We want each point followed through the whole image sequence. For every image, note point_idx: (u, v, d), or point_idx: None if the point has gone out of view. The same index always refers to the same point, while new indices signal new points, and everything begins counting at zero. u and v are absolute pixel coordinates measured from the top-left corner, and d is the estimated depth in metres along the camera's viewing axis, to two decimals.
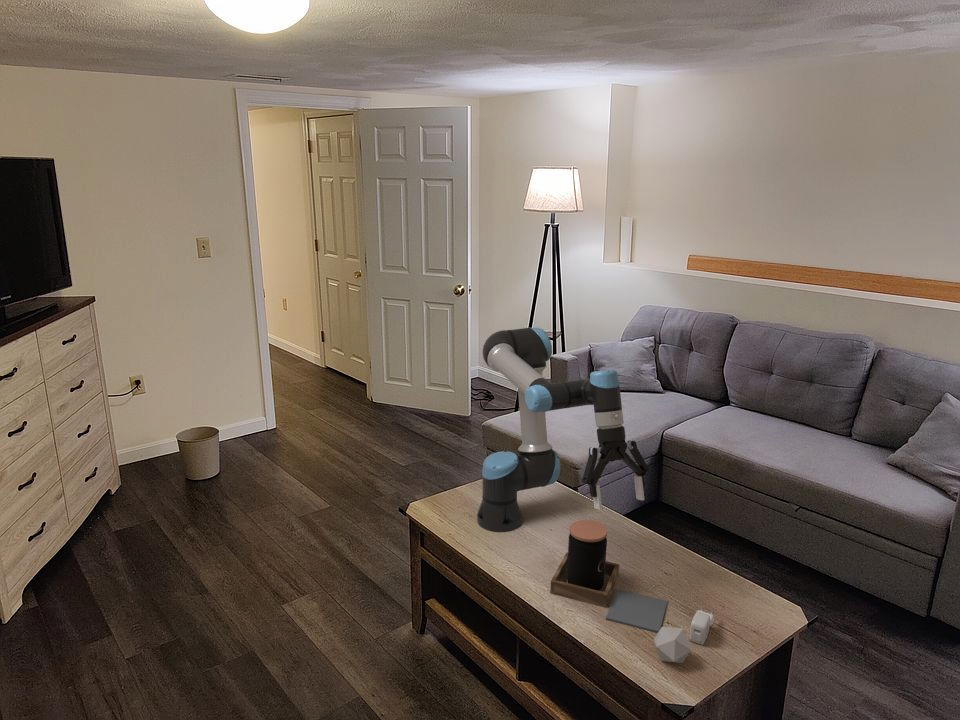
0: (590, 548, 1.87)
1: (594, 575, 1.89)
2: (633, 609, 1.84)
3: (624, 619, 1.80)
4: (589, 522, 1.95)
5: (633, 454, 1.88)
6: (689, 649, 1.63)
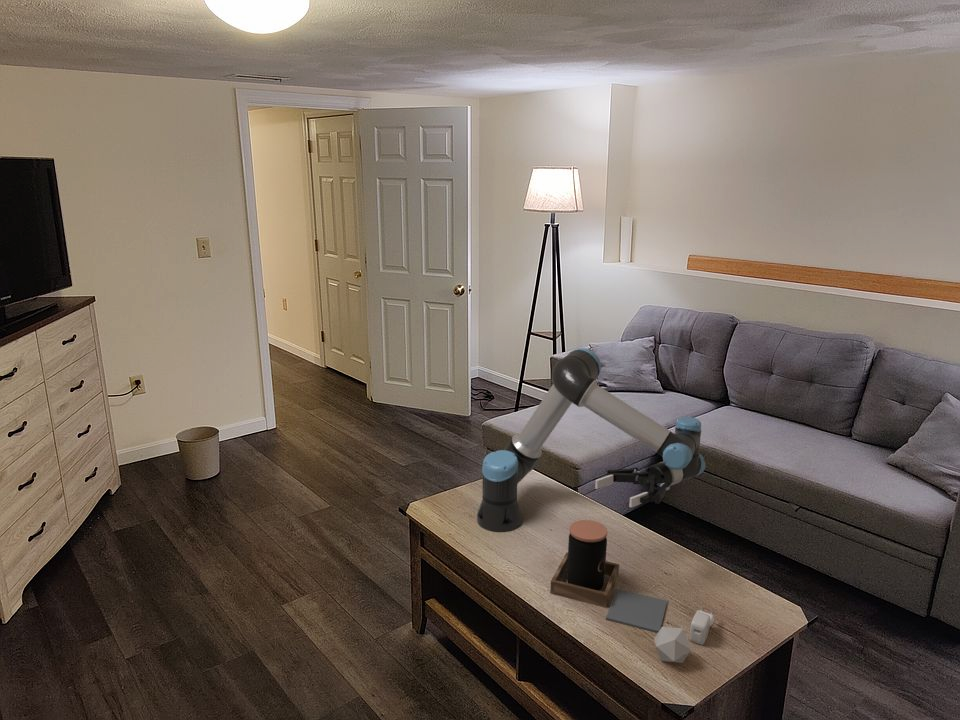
0: (590, 548, 1.87)
1: (594, 575, 1.89)
2: (633, 609, 1.84)
3: (624, 619, 1.80)
4: (589, 522, 1.95)
5: (627, 473, 2.05)
6: (689, 649, 1.63)
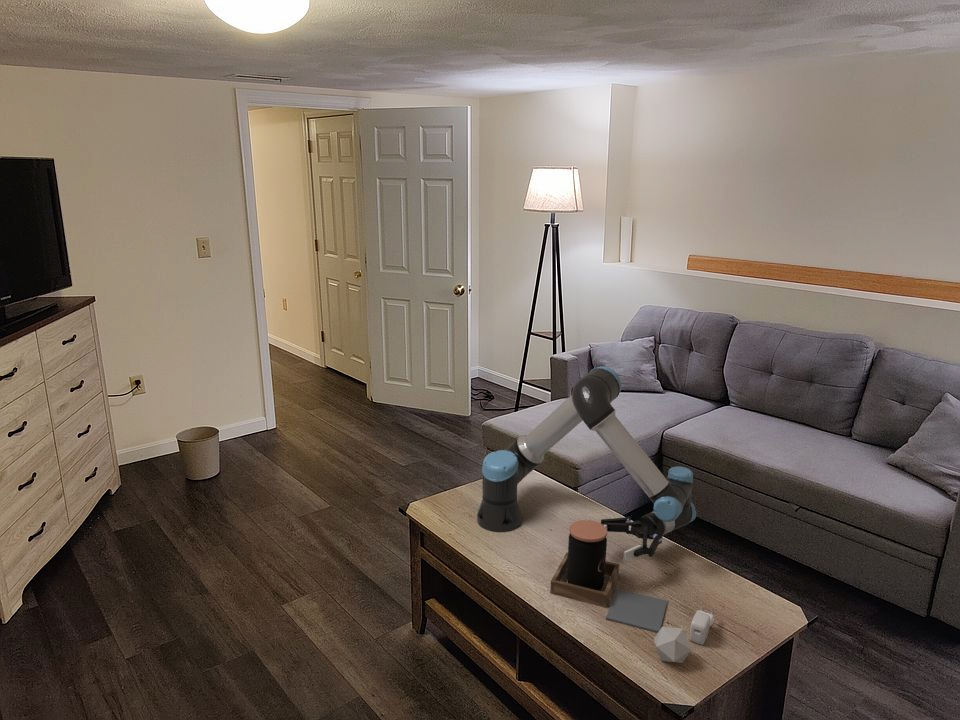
0: (590, 548, 1.87)
1: (594, 575, 1.89)
2: (633, 609, 1.84)
3: (624, 619, 1.80)
4: (589, 522, 1.95)
5: (620, 522, 2.09)
6: (689, 649, 1.63)
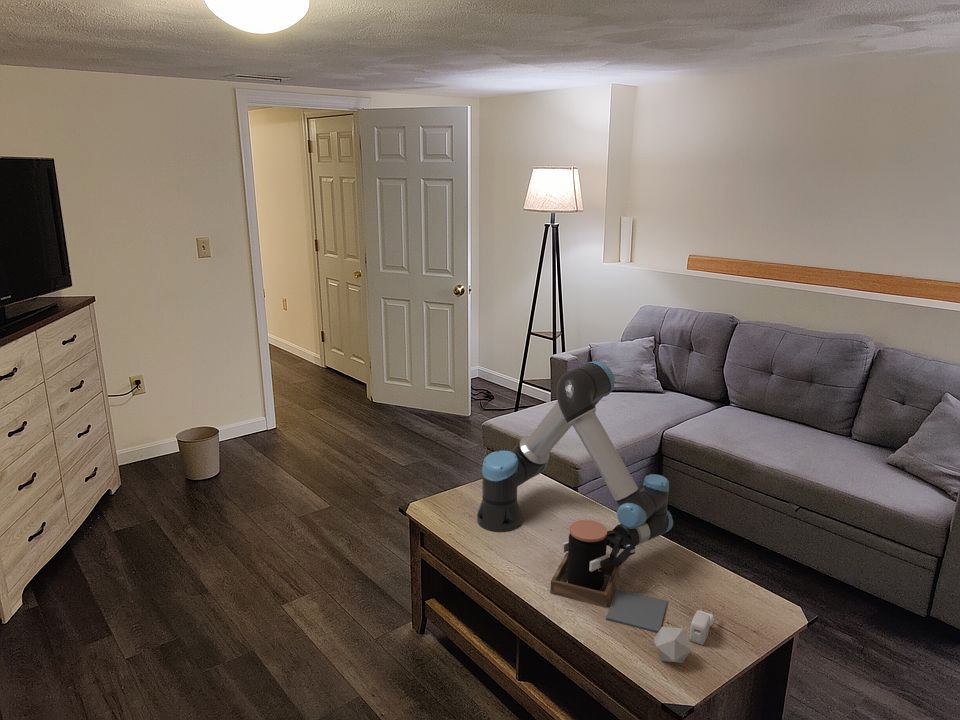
0: (590, 548, 1.87)
1: (594, 575, 1.89)
2: (633, 609, 1.84)
3: (624, 619, 1.80)
4: (589, 522, 1.95)
5: None
6: (689, 649, 1.63)
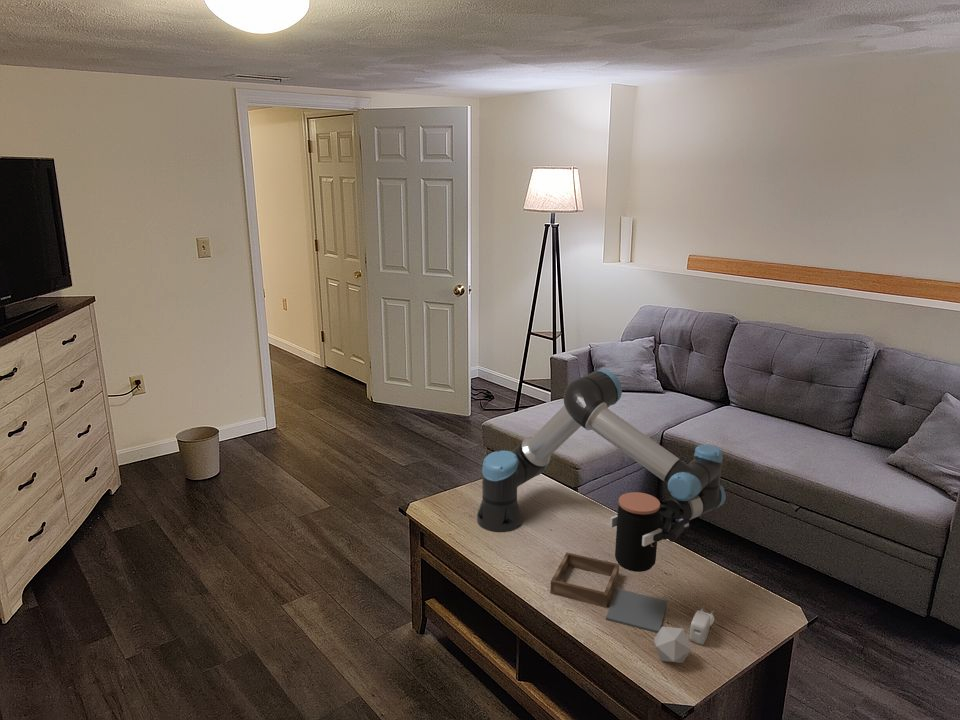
0: (643, 521, 1.73)
1: (646, 551, 1.75)
2: (633, 609, 1.84)
3: (624, 619, 1.80)
4: (639, 494, 1.81)
5: None
6: (689, 649, 1.63)
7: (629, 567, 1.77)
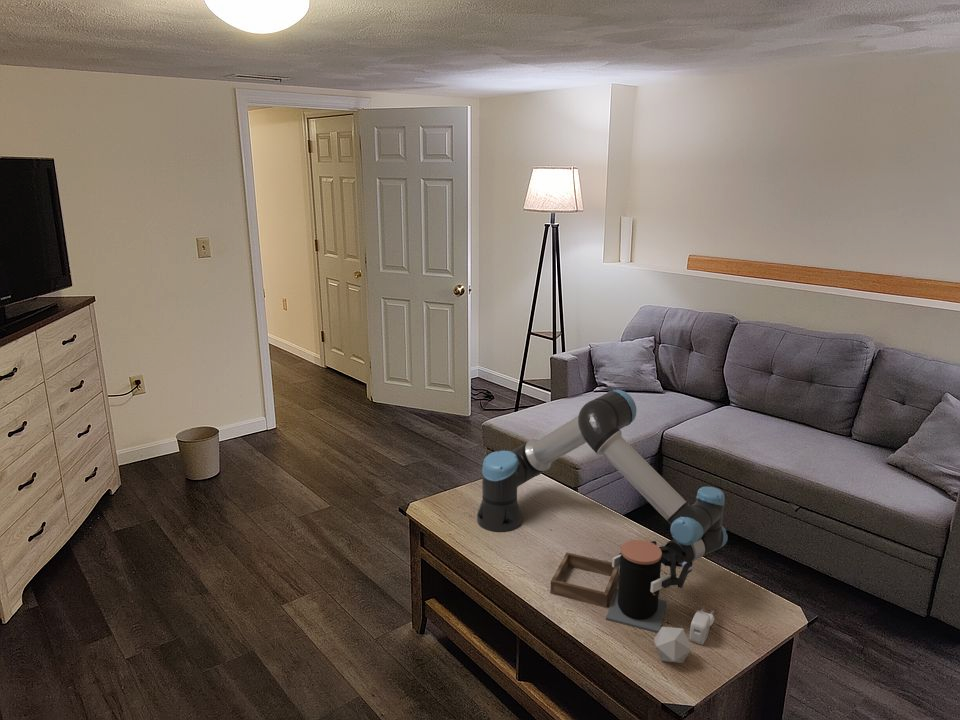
0: (645, 571, 1.75)
1: (649, 599, 1.78)
2: None
3: (624, 619, 1.80)
4: (641, 542, 1.83)
5: None
6: (689, 649, 1.63)
7: (631, 615, 1.80)
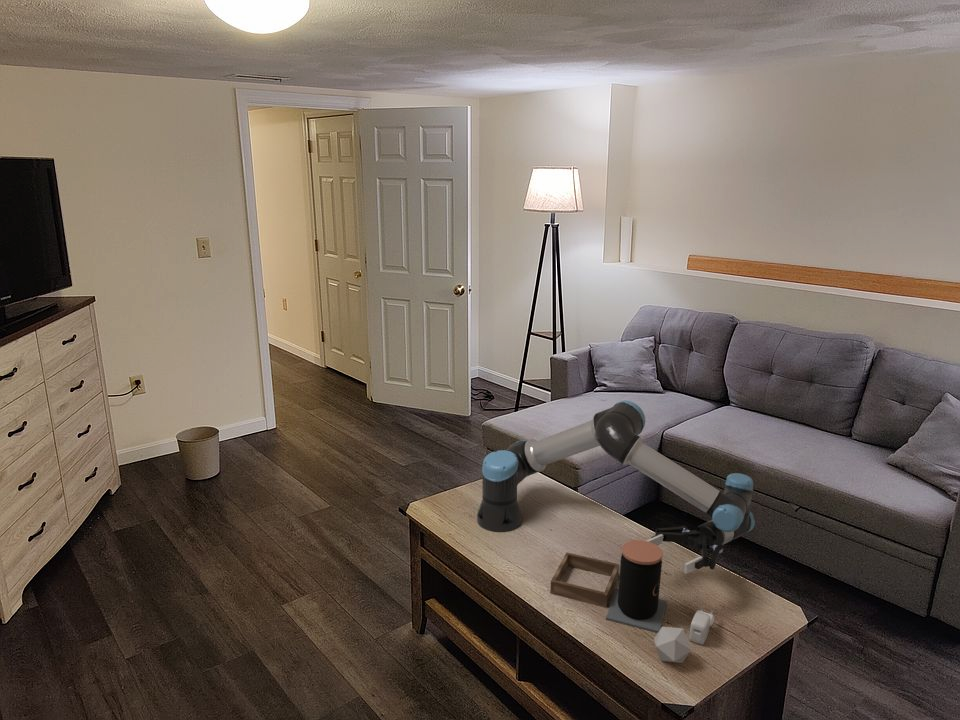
0: (646, 571, 1.75)
1: (649, 600, 1.78)
2: None
3: (624, 619, 1.80)
4: (642, 542, 1.83)
5: (676, 532, 1.98)
6: (689, 649, 1.63)
7: (632, 615, 1.80)
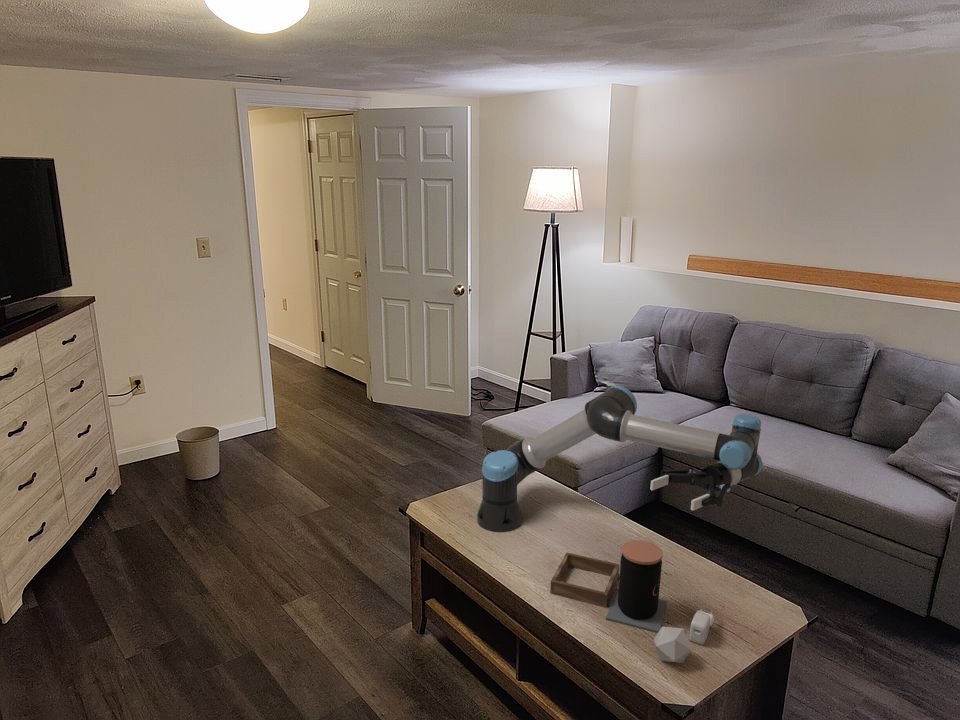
0: (646, 571, 1.75)
1: (649, 600, 1.78)
2: None
3: (624, 619, 1.80)
4: (642, 542, 1.83)
5: (682, 473, 1.93)
6: (689, 649, 1.63)
7: (632, 615, 1.80)
